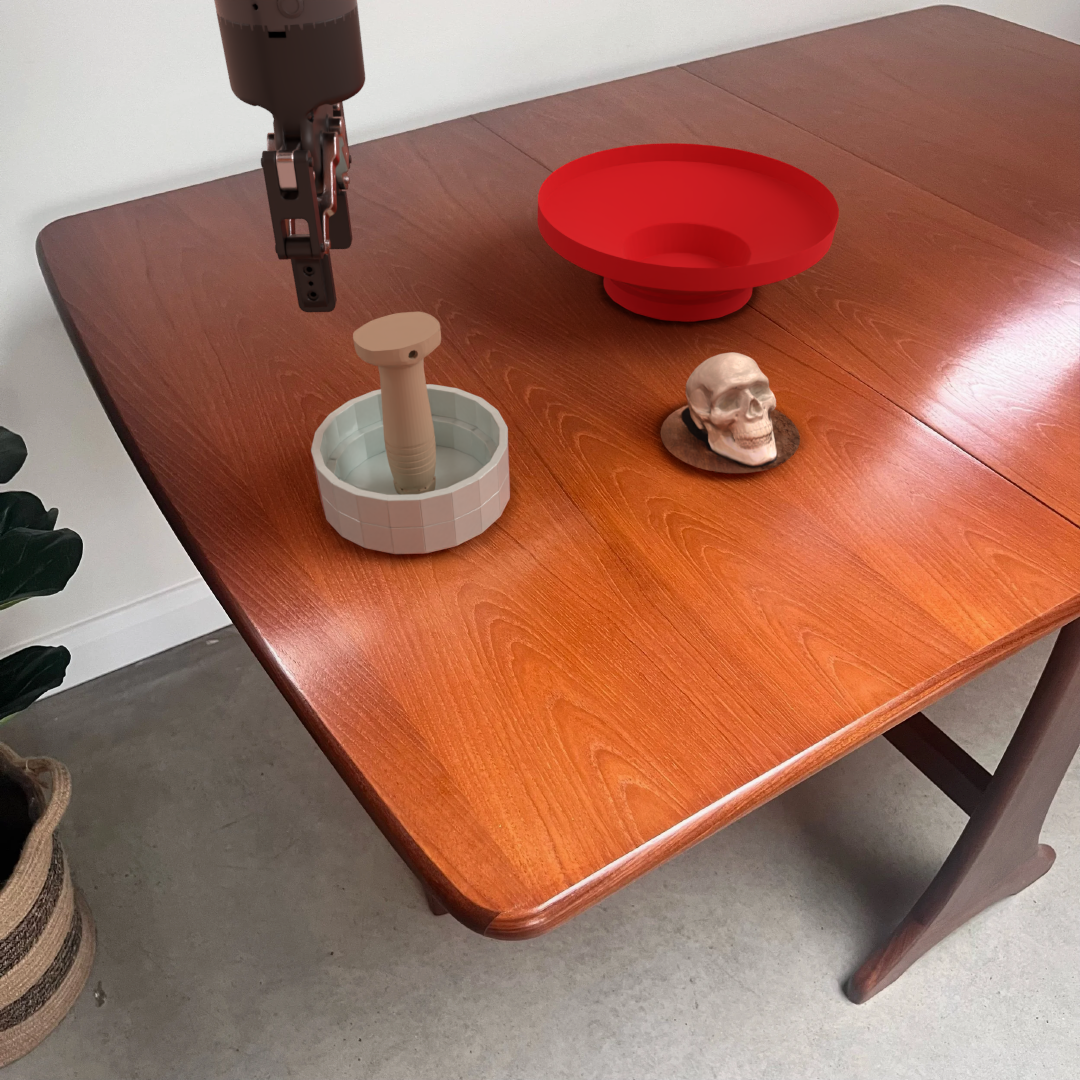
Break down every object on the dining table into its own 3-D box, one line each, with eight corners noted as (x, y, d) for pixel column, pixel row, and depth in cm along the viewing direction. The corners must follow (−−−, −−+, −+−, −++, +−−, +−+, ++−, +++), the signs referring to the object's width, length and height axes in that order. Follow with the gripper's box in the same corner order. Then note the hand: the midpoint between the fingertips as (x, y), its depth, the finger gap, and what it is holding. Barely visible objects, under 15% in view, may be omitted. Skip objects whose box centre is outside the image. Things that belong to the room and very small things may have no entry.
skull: (837, 452, 88) (776, 393, 81) (743, 530, 91) (678, 479, 85) (774, 374, 96) (714, 315, 90) (690, 449, 100) (626, 396, 93)
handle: (367, 489, 86) (342, 329, 76) (436, 463, 89) (420, 305, 79) (394, 521, 83) (371, 358, 73) (464, 493, 86) (451, 332, 76)
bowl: (521, 352, 103) (519, 259, 96) (553, 219, 125) (553, 136, 119) (836, 368, 100) (855, 273, 93) (810, 229, 122) (825, 144, 116)
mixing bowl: (311, 562, 80) (298, 502, 76) (335, 443, 92) (325, 386, 88) (510, 557, 81) (507, 497, 77) (510, 439, 92) (507, 382, 88)
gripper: (242, -32, 61) (287, 230, 72) (185, 39, 51) (248, 334, 61) (369, -33, 61) (395, 228, 72) (340, 37, 51) (375, 332, 61)
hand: (327, 276), depth 67 cm, fingers open, 8 cm apart
